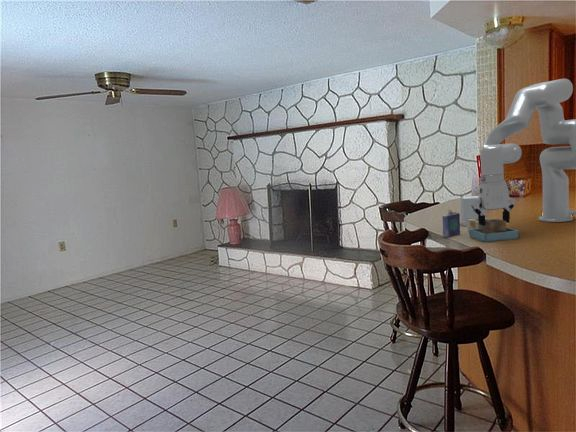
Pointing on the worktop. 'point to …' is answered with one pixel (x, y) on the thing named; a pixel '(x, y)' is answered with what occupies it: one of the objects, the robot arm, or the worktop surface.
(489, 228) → the walnut block
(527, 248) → the worktop surface
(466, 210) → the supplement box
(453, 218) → the flask
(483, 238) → the teal tray
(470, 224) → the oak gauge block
